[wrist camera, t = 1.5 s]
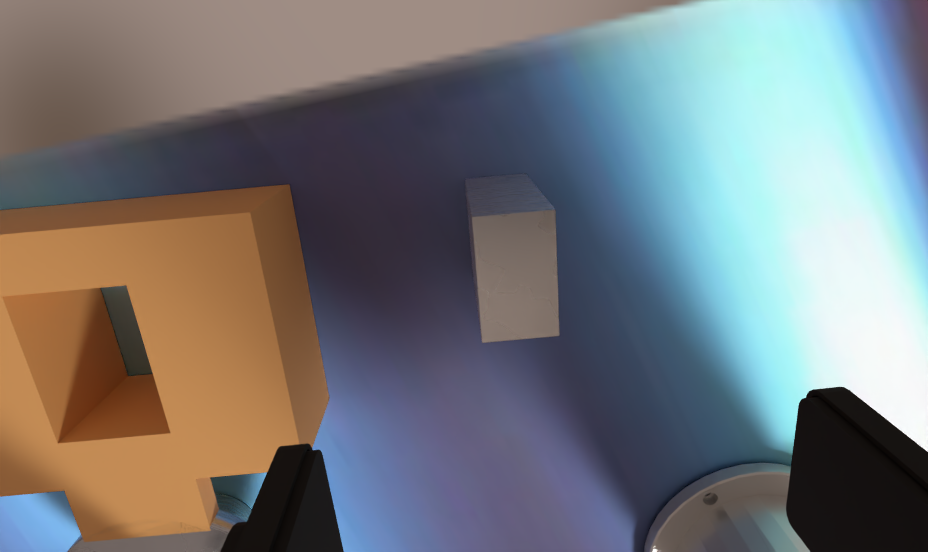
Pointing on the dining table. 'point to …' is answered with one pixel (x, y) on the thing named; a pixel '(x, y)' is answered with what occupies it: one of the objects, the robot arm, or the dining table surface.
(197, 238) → the bracket head
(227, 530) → the post
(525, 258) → the white block
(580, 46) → the dining table surface
